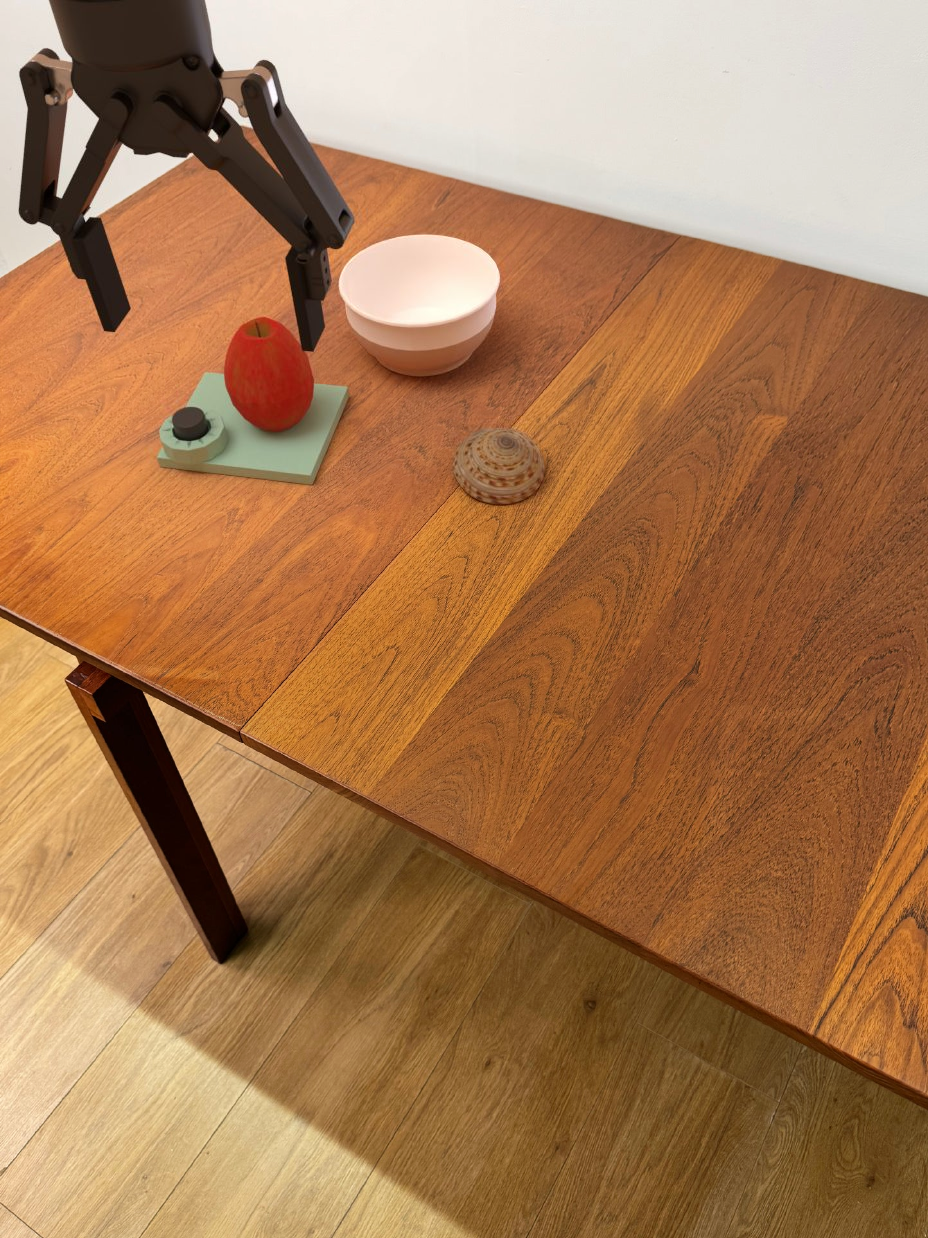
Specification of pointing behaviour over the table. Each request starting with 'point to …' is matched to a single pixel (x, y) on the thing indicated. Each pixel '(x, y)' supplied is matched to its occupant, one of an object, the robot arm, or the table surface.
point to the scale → (254, 437)
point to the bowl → (420, 301)
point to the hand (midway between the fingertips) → (214, 329)
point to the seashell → (498, 465)
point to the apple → (268, 375)
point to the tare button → (190, 424)
